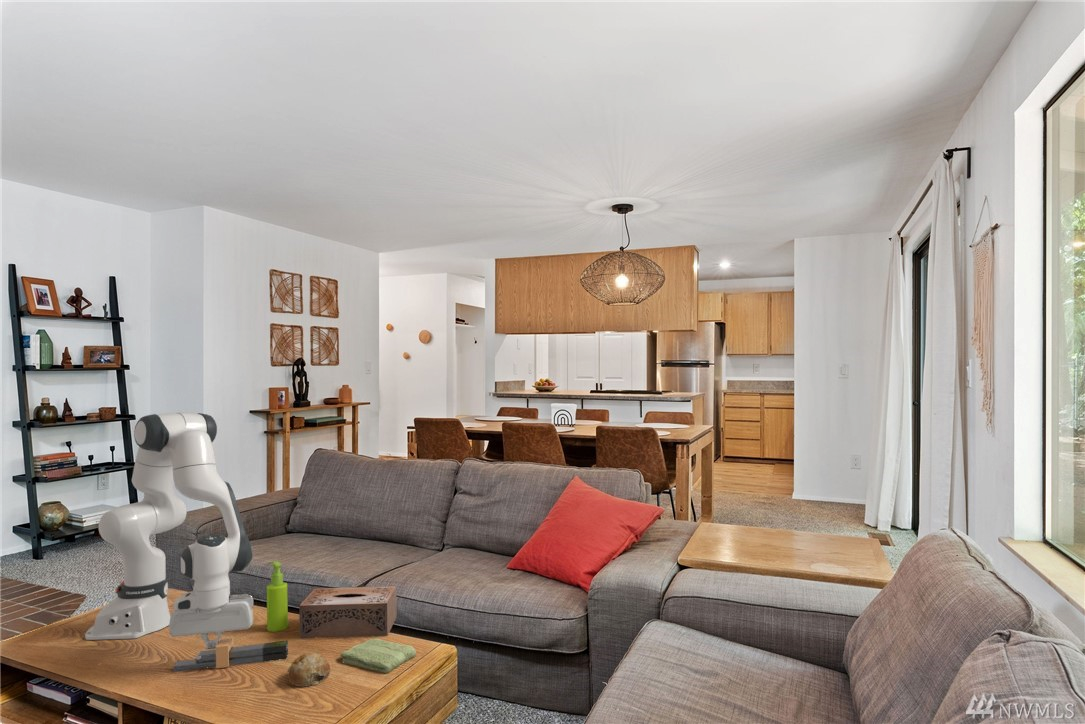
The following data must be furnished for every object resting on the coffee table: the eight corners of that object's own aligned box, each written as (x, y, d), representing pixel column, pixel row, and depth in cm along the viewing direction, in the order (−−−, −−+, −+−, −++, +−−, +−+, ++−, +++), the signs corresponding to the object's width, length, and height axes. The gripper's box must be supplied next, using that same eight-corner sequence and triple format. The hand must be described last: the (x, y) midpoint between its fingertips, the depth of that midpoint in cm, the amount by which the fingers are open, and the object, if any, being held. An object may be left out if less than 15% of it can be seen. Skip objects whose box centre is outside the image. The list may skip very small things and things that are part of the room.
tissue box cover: (299, 639, 188) (299, 605, 188) (315, 619, 203) (314, 588, 203) (387, 636, 189) (387, 603, 189) (396, 617, 204) (396, 586, 204)
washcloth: (371, 644, 185) (371, 633, 185) (418, 657, 176) (418, 645, 176) (336, 663, 173) (336, 651, 173) (385, 677, 165) (385, 665, 165)
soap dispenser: (281, 621, 201) (281, 558, 201) (290, 627, 196) (290, 562, 196) (262, 627, 197) (262, 562, 197) (271, 633, 192) (271, 567, 192)
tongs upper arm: (195, 662, 169) (194, 656, 169) (198, 656, 173) (198, 651, 173) (286, 651, 175) (286, 645, 175) (288, 645, 178) (287, 640, 178)
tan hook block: (216, 668, 169) (215, 646, 169) (221, 658, 175) (221, 637, 175) (228, 666, 170) (228, 645, 170) (233, 657, 176) (233, 636, 176)
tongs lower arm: (173, 672, 168) (173, 665, 168) (177, 666, 171) (177, 660, 171) (286, 659, 175) (286, 652, 175) (288, 653, 178) (287, 647, 178)
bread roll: (299, 704, 158) (308, 679, 157) (276, 677, 163) (284, 652, 162) (332, 687, 167) (340, 662, 165) (308, 661, 172) (316, 637, 170)
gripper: (255, 589, 178) (256, 638, 177) (174, 596, 173) (174, 647, 173) (251, 596, 171) (251, 648, 171) (166, 604, 166) (167, 657, 166)
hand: (212, 648), depth 172 cm, fingers closed
